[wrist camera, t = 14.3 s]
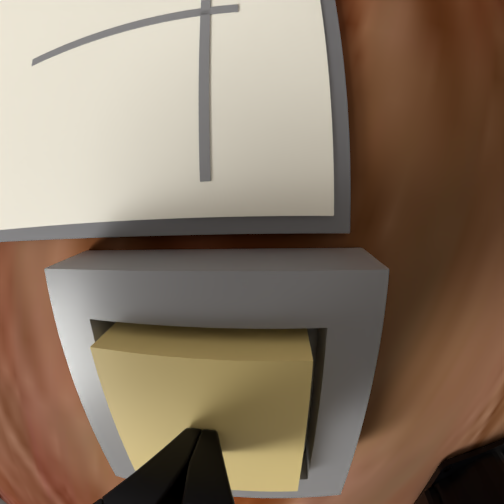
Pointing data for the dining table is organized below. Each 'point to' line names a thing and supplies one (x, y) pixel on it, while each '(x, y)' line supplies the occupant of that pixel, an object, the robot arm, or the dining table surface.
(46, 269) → the button housing
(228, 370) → the button
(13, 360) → the dining table surface
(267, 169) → the drawing board
